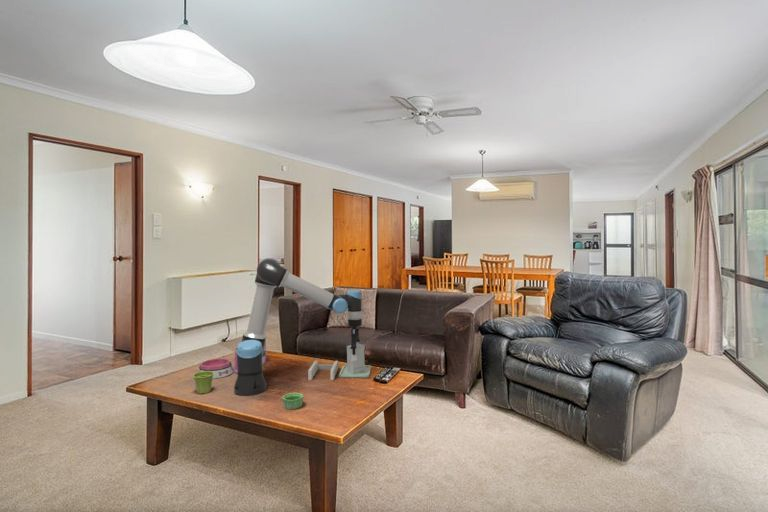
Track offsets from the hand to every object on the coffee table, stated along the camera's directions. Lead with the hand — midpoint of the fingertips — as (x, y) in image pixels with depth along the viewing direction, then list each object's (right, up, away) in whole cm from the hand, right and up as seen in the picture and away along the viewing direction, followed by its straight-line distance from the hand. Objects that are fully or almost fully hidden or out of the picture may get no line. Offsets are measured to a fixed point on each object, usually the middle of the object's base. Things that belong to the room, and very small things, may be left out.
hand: (355, 357), depth 231 cm
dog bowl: (-77, -10, +1) cm, 78 cm away
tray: (0, -9, 0) cm, 9 cm away
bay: (-17, -9, -1) cm, 19 cm away
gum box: (-61, -9, +13) cm, 63 cm away
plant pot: (-72, -11, -27) cm, 77 cm away
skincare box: (0, -8, 0) cm, 8 cm away
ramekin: (-24, -11, -46) cm, 53 cm away
